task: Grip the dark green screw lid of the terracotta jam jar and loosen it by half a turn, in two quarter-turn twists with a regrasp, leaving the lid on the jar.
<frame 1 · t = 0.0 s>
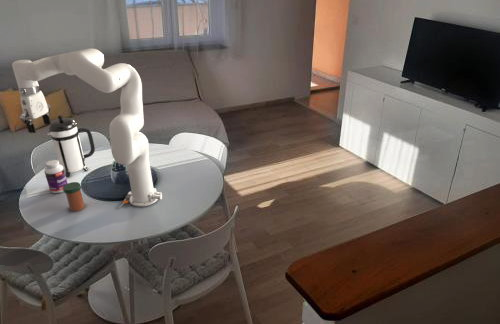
hand: (40, 128, 179), 31 cm above the table, tool pointing down, fingers open, 9 cm apart
jar: (77, 207, 178), on the table
lid: (71, 186, 174), point 10 cm above the table, screwed on, not yet turned
key chain: (127, 201, 183), on the table
pill bottle: (59, 190, 193), on the table
coffee press: (76, 169, 211), on the table
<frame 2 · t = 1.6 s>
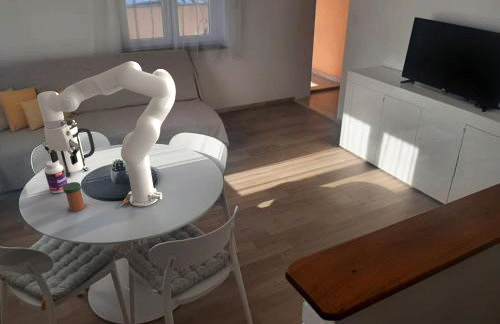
hand: (65, 162, 168), 22 cm above the table, tool pointing down, fingers open, 8 cm apart
nothing on the table moved.
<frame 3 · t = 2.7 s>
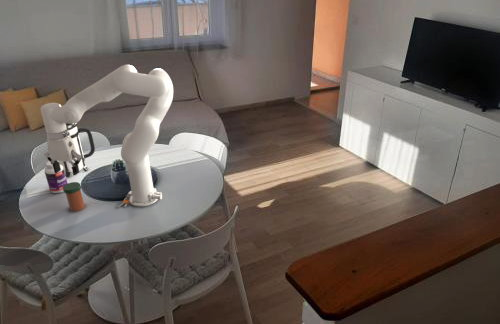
hand: (67, 172, 171), 17 cm above the table, tool pointing down, fingers open, 8 cm apart
key chain: (127, 200, 183), on the table, touching arm
everything else where it was.
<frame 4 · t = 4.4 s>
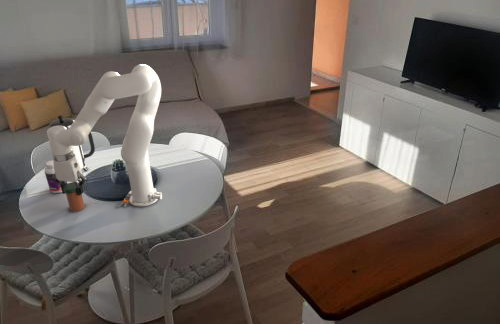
hand: (73, 192, 175), 7 cm above the table, tool pointing down, fingers closed on lid, 6 cm apart
lid: (71, 186, 174), point 10 cm above the table, screwed on, not yet turned, touching gripper
everything else where it was.
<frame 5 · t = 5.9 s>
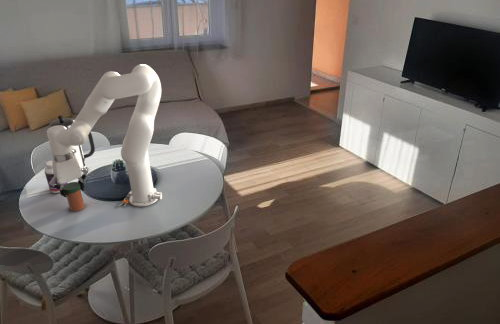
hand: (73, 192, 175), 8 cm above the table, tool pointing down, fingers closed on lid, 6 cm apart
lid: (71, 186, 174), point 11 cm above the table, turned 57° so far, risen 0.1 cm, still on its thread, touching gripper
key chain: (127, 200, 183), on the table
everything else where it was.
when the fingers open (7 cm above the table, at t = 7.7 s): lid stays where it is, point 11 cm above the table.
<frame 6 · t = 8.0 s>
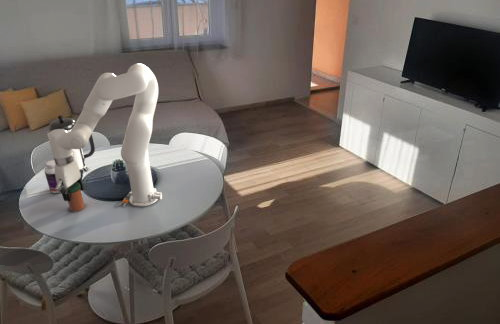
hand: (74, 195, 176), 6 cm above the table, tool pointing down, fingers open, 8 cm apart
lid: (71, 186, 174), point 11 cm above the table, turned 90° so far, risen 0.1 cm, still on its thread
key chain: (127, 200, 183), on the table, touching arm
everything else where it was.
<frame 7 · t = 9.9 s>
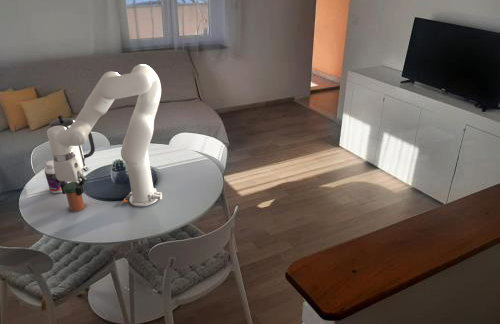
hand: (73, 193, 175), 7 cm above the table, tool pointing down, fingers closed on lid, 6 cm apart
lid: (71, 186, 174), point 11 cm above the table, turned 90° so far, risen 0.1 cm, still on its thread, touching gripper
everything else where it was.
when the fingers open (7 cm above the table, at t = 13.3 s): lid stays where it is, point 11 cm above the table.
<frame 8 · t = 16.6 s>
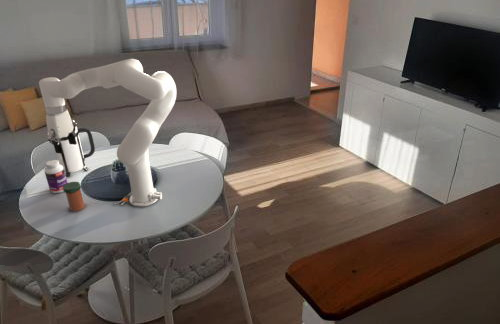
hand: (66, 148, 171), 26 cm above the table, tool pointing down, fingers open, 8 cm apart
lid: (71, 186, 174), point 11 cm above the table, turned 179° so far, risen 0.2 cm, still on its thread
at the end: lid turned 0.50 turns (still on its thread); jar moved 0.0 cm from its start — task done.
